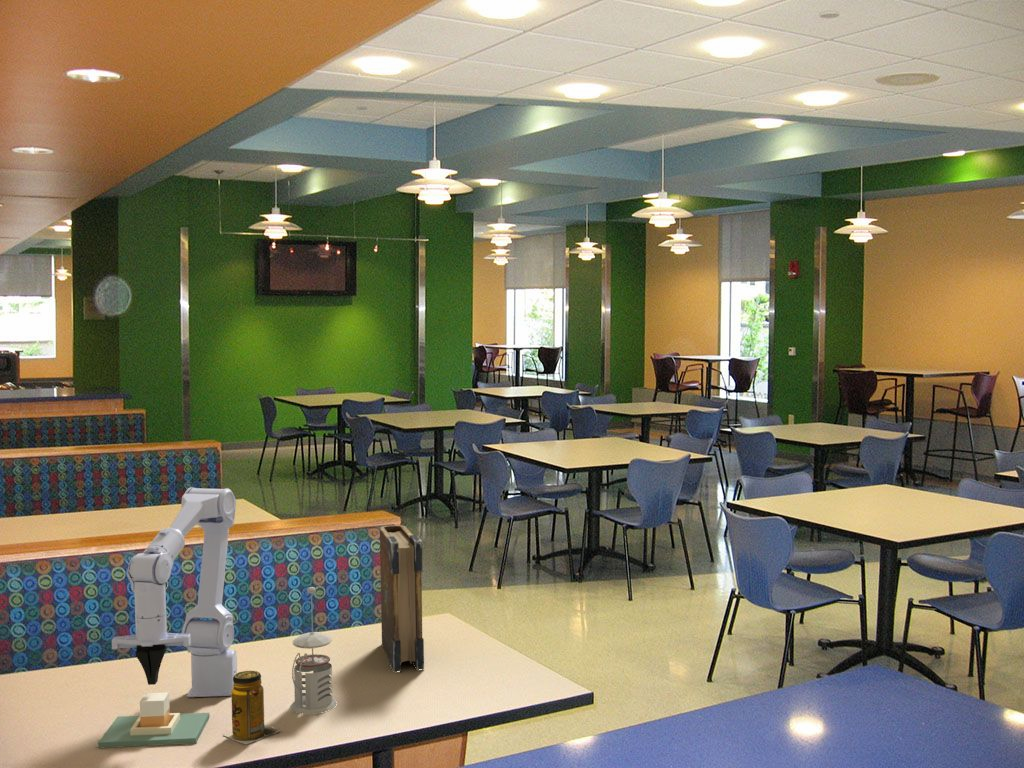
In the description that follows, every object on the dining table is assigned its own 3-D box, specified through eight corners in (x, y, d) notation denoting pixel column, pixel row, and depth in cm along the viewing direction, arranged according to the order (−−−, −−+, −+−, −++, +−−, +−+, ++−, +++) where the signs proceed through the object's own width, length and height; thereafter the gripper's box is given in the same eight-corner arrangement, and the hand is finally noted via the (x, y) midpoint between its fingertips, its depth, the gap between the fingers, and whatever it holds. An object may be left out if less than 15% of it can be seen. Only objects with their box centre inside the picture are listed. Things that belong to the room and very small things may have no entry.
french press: (346, 699, 217) (344, 583, 216) (318, 719, 206) (316, 597, 205) (305, 694, 221) (302, 579, 219) (275, 714, 210) (273, 593, 208)
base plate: (209, 717, 208) (209, 706, 208) (196, 743, 195) (195, 731, 195) (117, 721, 206) (117, 710, 206) (98, 747, 194) (97, 736, 193)
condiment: (223, 736, 199) (221, 675, 198) (259, 722, 205) (258, 663, 205) (245, 745, 194) (244, 683, 193) (282, 732, 201) (280, 671, 200)
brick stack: (169, 722, 203) (169, 692, 203) (164, 731, 199) (163, 700, 198) (146, 723, 203) (145, 693, 202) (140, 732, 198) (139, 701, 198)
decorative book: (424, 670, 236) (422, 540, 234) (393, 673, 234) (391, 542, 232) (406, 640, 258) (405, 521, 257) (378, 642, 256) (376, 523, 255)
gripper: (106, 621, 196) (108, 691, 197) (184, 619, 198) (186, 688, 198) (116, 611, 203) (118, 679, 204) (192, 608, 205) (194, 675, 205)
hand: (152, 682), depth 202 cm, fingers closed
